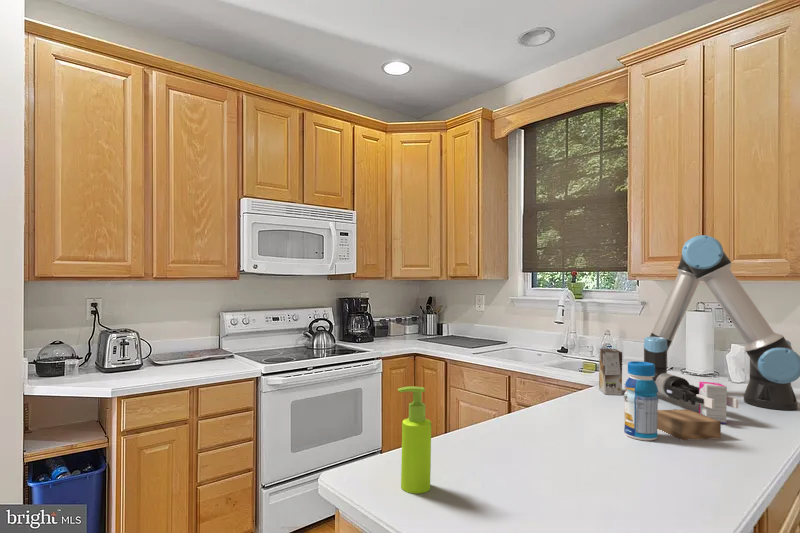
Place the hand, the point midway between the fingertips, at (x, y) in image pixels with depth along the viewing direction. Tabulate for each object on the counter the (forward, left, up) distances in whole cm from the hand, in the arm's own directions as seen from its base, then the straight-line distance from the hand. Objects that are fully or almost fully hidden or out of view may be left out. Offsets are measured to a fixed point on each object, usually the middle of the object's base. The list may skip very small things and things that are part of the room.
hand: (725, 403), depth 144 cm
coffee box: (+19, -40, -7) cm, 45 cm away
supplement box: (+1, -5, -7) cm, 8 cm away
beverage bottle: (+30, +13, -7) cm, 33 cm away
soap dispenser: (+91, +52, -7) cm, 105 cm away
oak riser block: (+15, +8, -7) cm, 18 cm away
